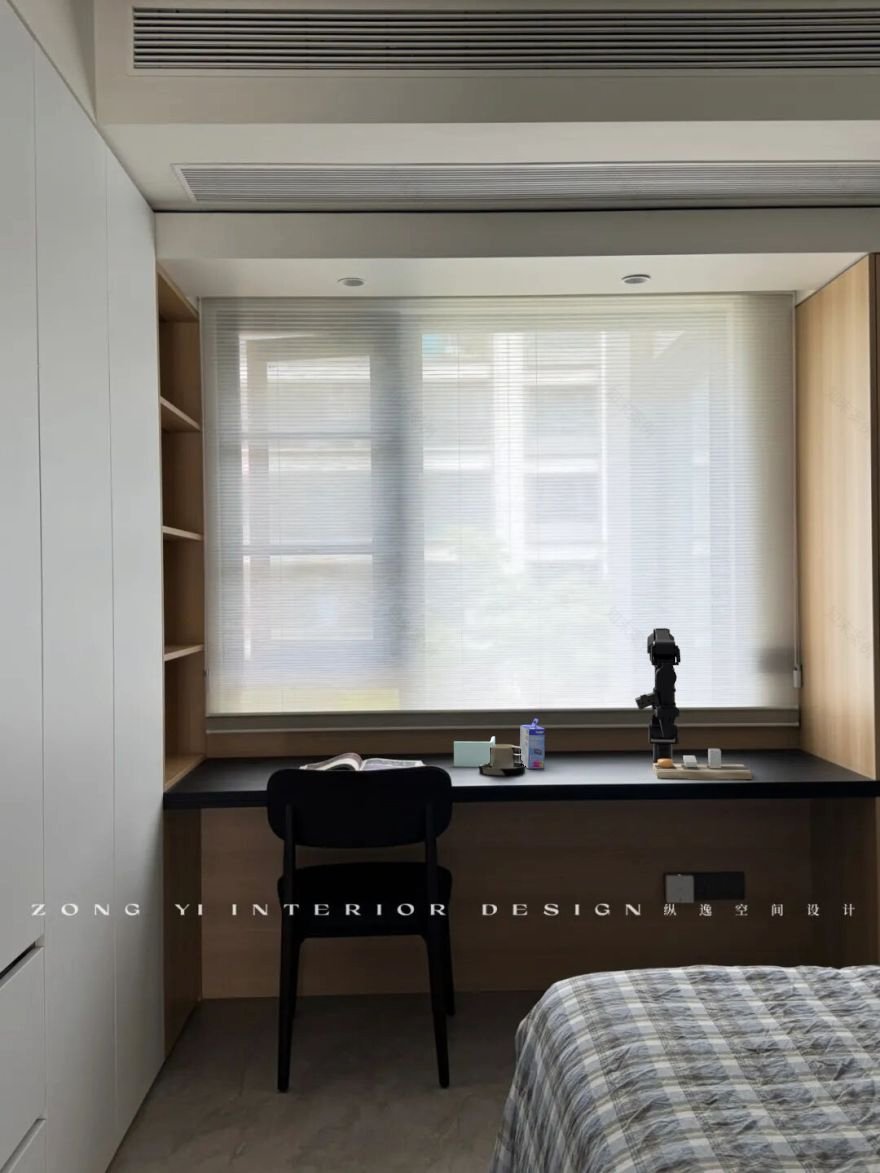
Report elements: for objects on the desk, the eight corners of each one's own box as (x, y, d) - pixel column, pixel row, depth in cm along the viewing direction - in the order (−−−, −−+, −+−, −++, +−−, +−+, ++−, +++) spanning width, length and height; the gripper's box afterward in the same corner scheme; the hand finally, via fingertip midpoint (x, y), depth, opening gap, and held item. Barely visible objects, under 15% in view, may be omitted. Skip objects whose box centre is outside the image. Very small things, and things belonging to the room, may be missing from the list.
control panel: (652, 769, 291) (652, 762, 291) (742, 770, 288) (742, 763, 288) (657, 778, 277) (657, 770, 277) (751, 780, 274) (751, 772, 274)
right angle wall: (495, 760, 310) (495, 736, 310) (492, 766, 298) (492, 742, 298) (457, 759, 311) (457, 736, 311) (454, 766, 300) (453, 742, 300)
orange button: (657, 764, 286) (657, 758, 286) (672, 764, 285) (672, 758, 285) (658, 767, 282) (658, 761, 282) (674, 767, 281) (674, 761, 281)
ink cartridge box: (545, 768, 294) (545, 720, 294) (528, 769, 293) (527, 721, 293) (536, 763, 304) (535, 716, 304) (519, 764, 303) (518, 717, 303)
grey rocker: (683, 760, 286) (683, 755, 285) (694, 760, 285) (694, 755, 285) (685, 766, 280) (685, 762, 280) (697, 766, 280) (697, 762, 279)
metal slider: (708, 765, 284) (708, 748, 284) (718, 765, 284) (718, 748, 284) (710, 768, 280) (710, 750, 280) (721, 768, 280) (720, 750, 280)
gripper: (634, 681, 294) (634, 733, 294) (639, 687, 275) (639, 742, 275) (671, 681, 292) (672, 733, 292) (679, 687, 274) (680, 742, 274)
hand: (665, 737), depth 283 cm, fingers closed
